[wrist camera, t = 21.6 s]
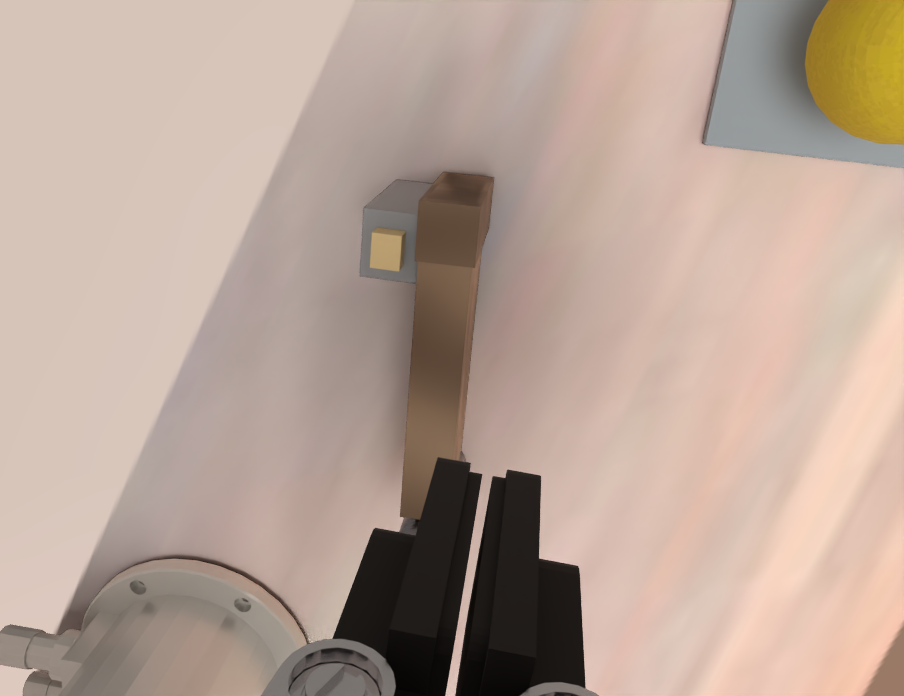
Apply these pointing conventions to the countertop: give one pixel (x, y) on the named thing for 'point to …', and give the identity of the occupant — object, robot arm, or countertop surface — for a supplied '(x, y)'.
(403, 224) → the post
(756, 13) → the mat
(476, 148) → the countertop surface
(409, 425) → the brown wooden block
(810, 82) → the lemon
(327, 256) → the countertop surface
